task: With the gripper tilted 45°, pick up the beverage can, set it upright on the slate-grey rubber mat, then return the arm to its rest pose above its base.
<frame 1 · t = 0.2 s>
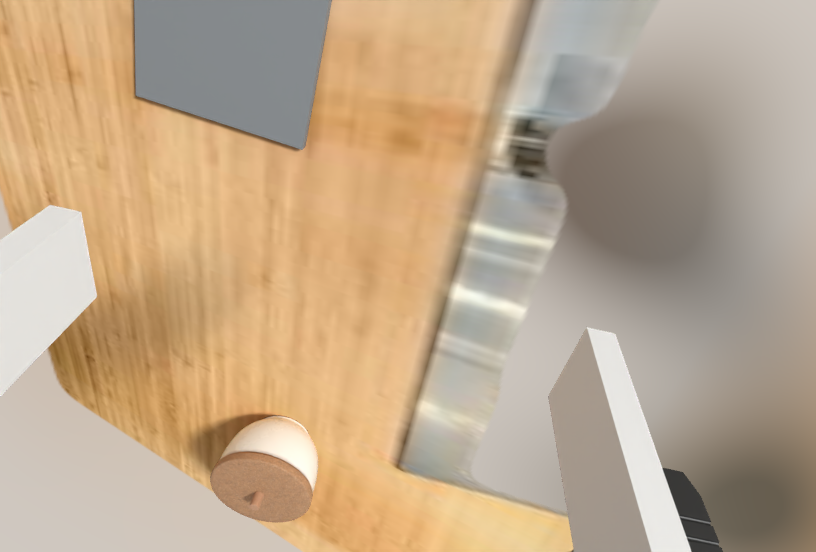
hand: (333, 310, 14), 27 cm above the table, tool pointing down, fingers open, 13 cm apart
lidded jar: (284, 432, 60), on the table
rubber mat: (233, 8, 35), on the table
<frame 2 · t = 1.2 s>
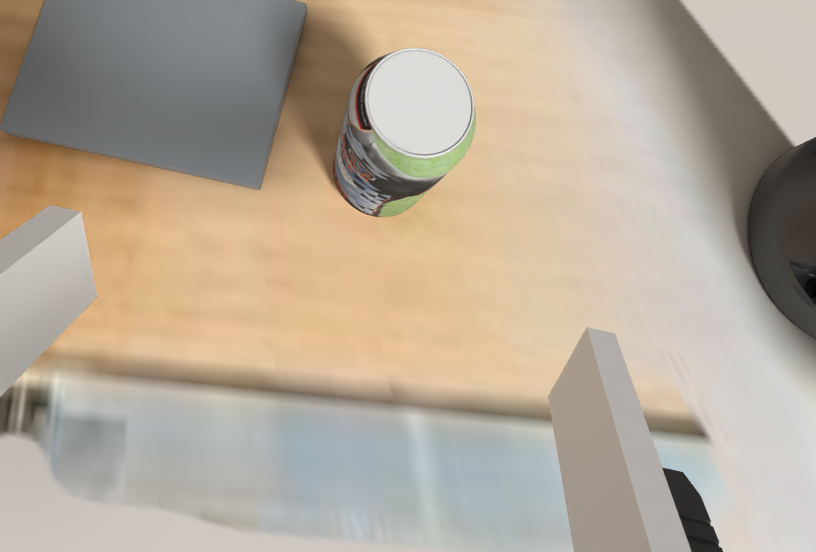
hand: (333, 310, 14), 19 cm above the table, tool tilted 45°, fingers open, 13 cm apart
rubber mat: (163, 70, 34), on the table
beverage can: (389, 182, 34), on the table
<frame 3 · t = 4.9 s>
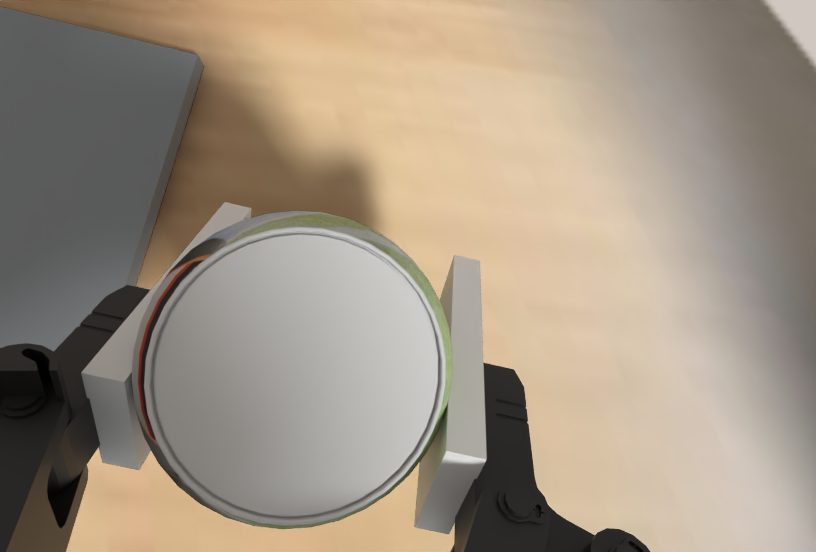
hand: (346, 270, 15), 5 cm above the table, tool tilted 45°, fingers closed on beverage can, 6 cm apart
beverage can: (318, 352, 20), on the table, touching gripper
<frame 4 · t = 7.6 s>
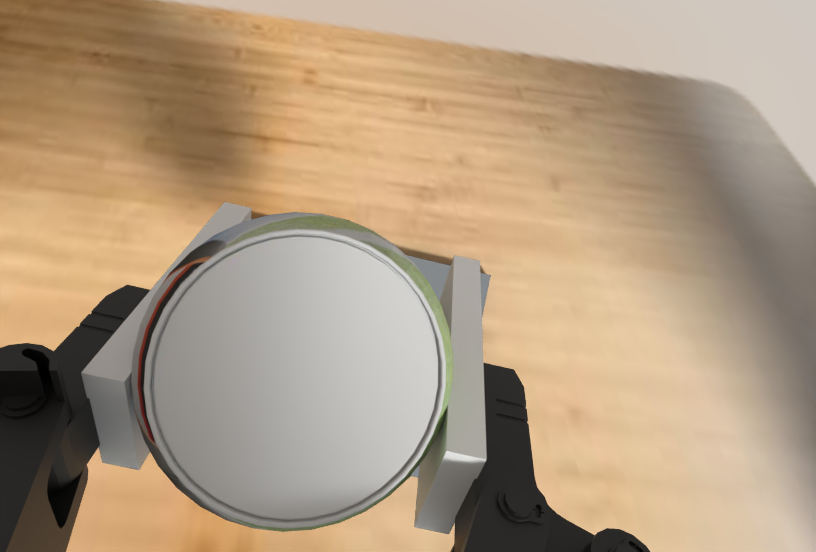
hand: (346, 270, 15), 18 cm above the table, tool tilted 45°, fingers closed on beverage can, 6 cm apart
rubber mat: (344, 347, 32), on the table
beverage can: (318, 353, 20), point 12 cm above the table, touching gripper
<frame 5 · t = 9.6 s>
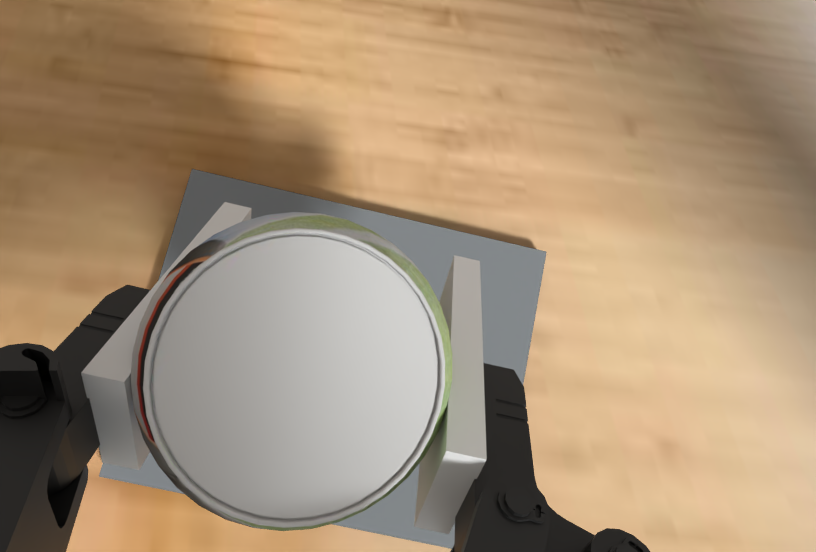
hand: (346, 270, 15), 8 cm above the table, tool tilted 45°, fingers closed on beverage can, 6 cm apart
rubber mat: (338, 356, 22), on the table
beverage can: (318, 353, 20), point 2 cm above the table, touching gripper
when the fingers open (8 cm above the table, at t = 10.2 s): beverage can drops 2 cm, resting on rubber mat.
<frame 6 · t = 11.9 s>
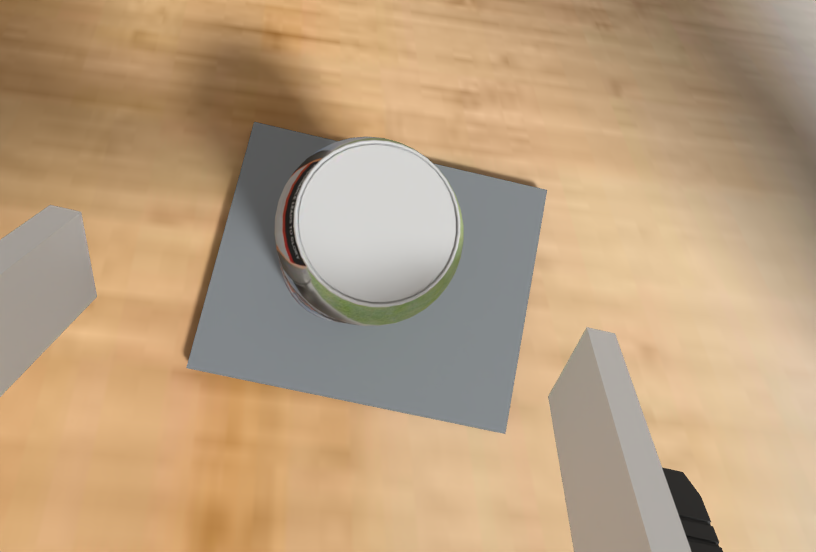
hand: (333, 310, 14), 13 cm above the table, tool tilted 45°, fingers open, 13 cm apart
rubber mat: (376, 276, 27), on the table
beverage can: (357, 271, 27), point 1 cm above the table, touching rubber mat
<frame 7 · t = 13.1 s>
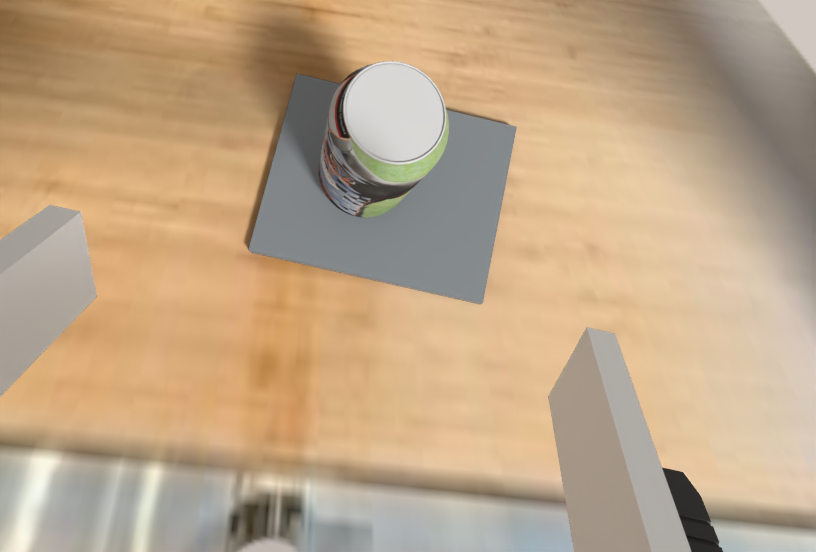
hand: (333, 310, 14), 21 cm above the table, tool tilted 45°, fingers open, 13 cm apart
rubber mat: (387, 189, 36), on the table
beverage can: (373, 183, 36), point 1 cm above the table, touching rubber mat
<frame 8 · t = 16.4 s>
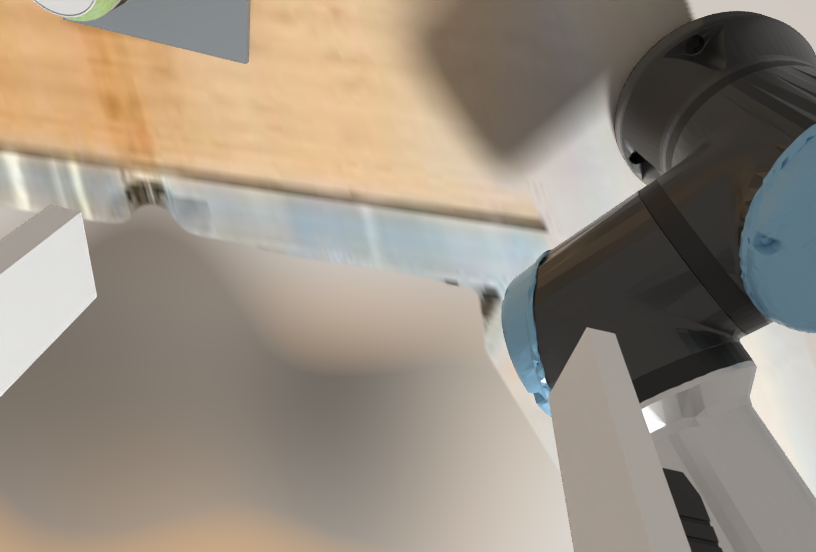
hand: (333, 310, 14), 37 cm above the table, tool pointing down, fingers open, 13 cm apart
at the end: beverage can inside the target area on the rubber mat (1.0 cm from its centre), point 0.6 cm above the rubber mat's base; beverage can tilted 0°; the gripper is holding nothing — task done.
